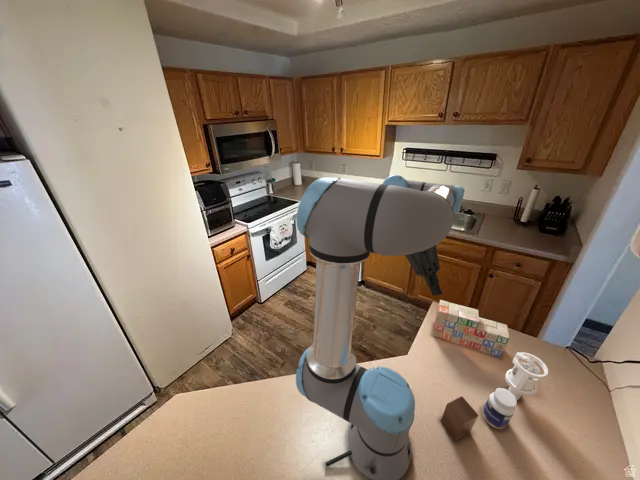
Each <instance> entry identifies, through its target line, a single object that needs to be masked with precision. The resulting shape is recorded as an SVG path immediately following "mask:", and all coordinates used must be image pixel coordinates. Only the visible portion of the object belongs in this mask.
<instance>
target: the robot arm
mask: <svg viewBox="0 0 640 480" xmlns="http://www.w3.org/2000/svg"><path fill="white" fill-rule="evenodd" d="M465 190H466V189H465V188H464V187H463V186H459V185H455V184H443V183H434V182H426V181H419V180H417V181H416V180H411V179H406V178H404V177H403V176H402V175H399V174H392V175H389V176H387V177H386V178H385V179H384V180H383V182H382V183H376V182H372V181H364V180H358V179H357V180H356V179H349V178H344V177H320V178H317V179H316V180H314V181H312V183H310V184H309V185H308V187H307V188H306V190H305V191H304V193H303V195H302V197H301V199H300V202H299V204H298V207H297V212H296V228H297V231H298V232H299V233H300V235H301V236H303V237H304V238H308V240H309V241H308V244H309V245H308V246H309V247H308V249H309V251H308V252H309V254H310V255H311V256H312V257H313V258H314V259H315V260H316V266H315V267H316V269H315V272H316V273H315V292H314V293H315V295H314V297H315V298H314V316H313V317H314V320H313V343H312V344H311V345H310V346H309V347H307V348H306V349H305V350H304V352H303V353H302V354H301V357H300V359H299V361H298V364H297V366H298V368H296V373H295V385H296V389H297V391H298V393H299V394H300V395H302V396H303V397H304V398H306V399H307V400H308V401H309V402H311V403H314V404H316V405H317V406H320V407H321V408H323V409H325V410H327V411H328V412H330V413H332V414H334V415H335V416H337V417H338V418H340V419H342V420H344V421H346V422H348V423H349V424H350V426H349V429H348V436H347V445H348V451H346V452H344V453H342V454H339V455H338V456H335V457H333V458H332V459H329V460H327V461H325V467H326V468H328V467H330V466H332V465H334V464H336V463H338V462H340V461H342V460H344V459H346V458H348V457H350V459H351V460H352V462H353V464H354V465H355V468H357V470H358V471H359V472H360V474H362V475H363V476H364V477H365V478H366V479H368V480H400V479H402V478H403V477H404V475H405V474H406V473H407V471H408V469H409V467H410V462H411V458H412V444H411V439H410V436H409V433H410V430H411V428H412V426H413V424H414V421H415V409H416V402H415V401H416V400H415V395H414V392H413V390H412V388H411V387H410V384H409V383H408V381H407V380H406V379H405V378H404V377H403V376H402V374H400V373H399V372H397V371H396V370H395V369H391V368H390V367H386V366H377V367H371V368H369V369H368V368H366V367H364V366H361V365H359V364H357V355H356V353H355V351H354V349H353V347H352V343H353V334H354V325H355V324H354V323H355V316H356V307H357V298H358V289H359V280H360V272H361V271H360V270H361V264H362V263H363V262H365V261H367V260H368V259H369V257H370V254H375V255H381V256H386V257H387V256H388V257H402V256H405V257H406V259H407V261H408V263H409V264H410V266H411V268H412V269H413V271H414V272H415V274H416V275H417V277H418V276H420V277H423V278H424V281H425V284H426V286H427V287H428V288H429V290H430V292H431V295H432V296H433V297H435V296H440V295H443V291H442V288H441V286H440V280H439V276H438V272H439V270H440V269H441V265H440V261H439V256H438V255H439V254H438V250H437V245H439V244H440V243H441V242H442V241H443V240H444V239H446V238H447V236H448V235H449V234H450V232H451V231H452V228H453V225H454V219H455V214H458V213H459V212H460V211H461V208H462V204H463V199H464V195H465Z"/></svg>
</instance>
